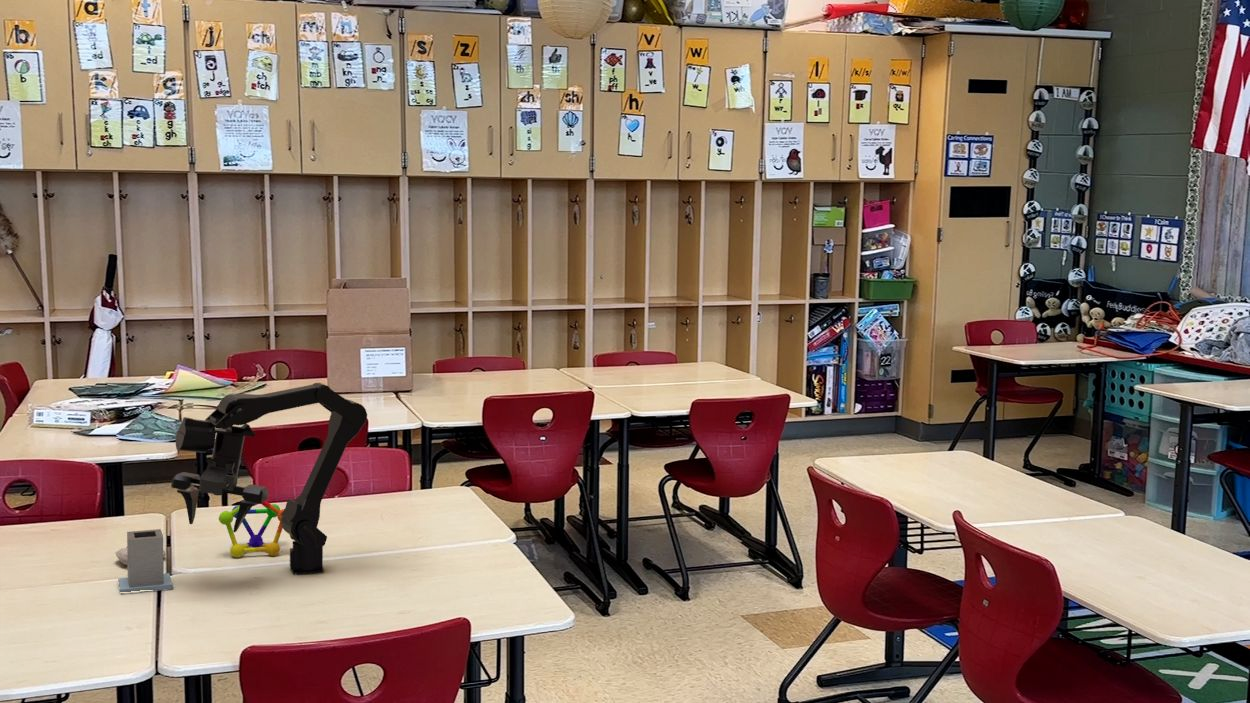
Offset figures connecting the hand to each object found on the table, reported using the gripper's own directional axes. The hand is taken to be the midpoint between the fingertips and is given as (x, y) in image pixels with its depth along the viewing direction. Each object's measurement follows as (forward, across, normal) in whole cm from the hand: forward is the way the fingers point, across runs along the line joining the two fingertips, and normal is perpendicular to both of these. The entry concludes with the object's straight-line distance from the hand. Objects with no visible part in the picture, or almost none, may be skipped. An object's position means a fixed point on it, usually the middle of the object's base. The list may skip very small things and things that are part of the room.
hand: (213, 527), depth 245 cm
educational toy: (+9, +3, +25) cm, 27 cm away
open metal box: (+13, -11, -1) cm, 17 cm away
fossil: (+14, -18, +15) cm, 28 cm away
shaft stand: (+14, -11, -1) cm, 18 cm away
